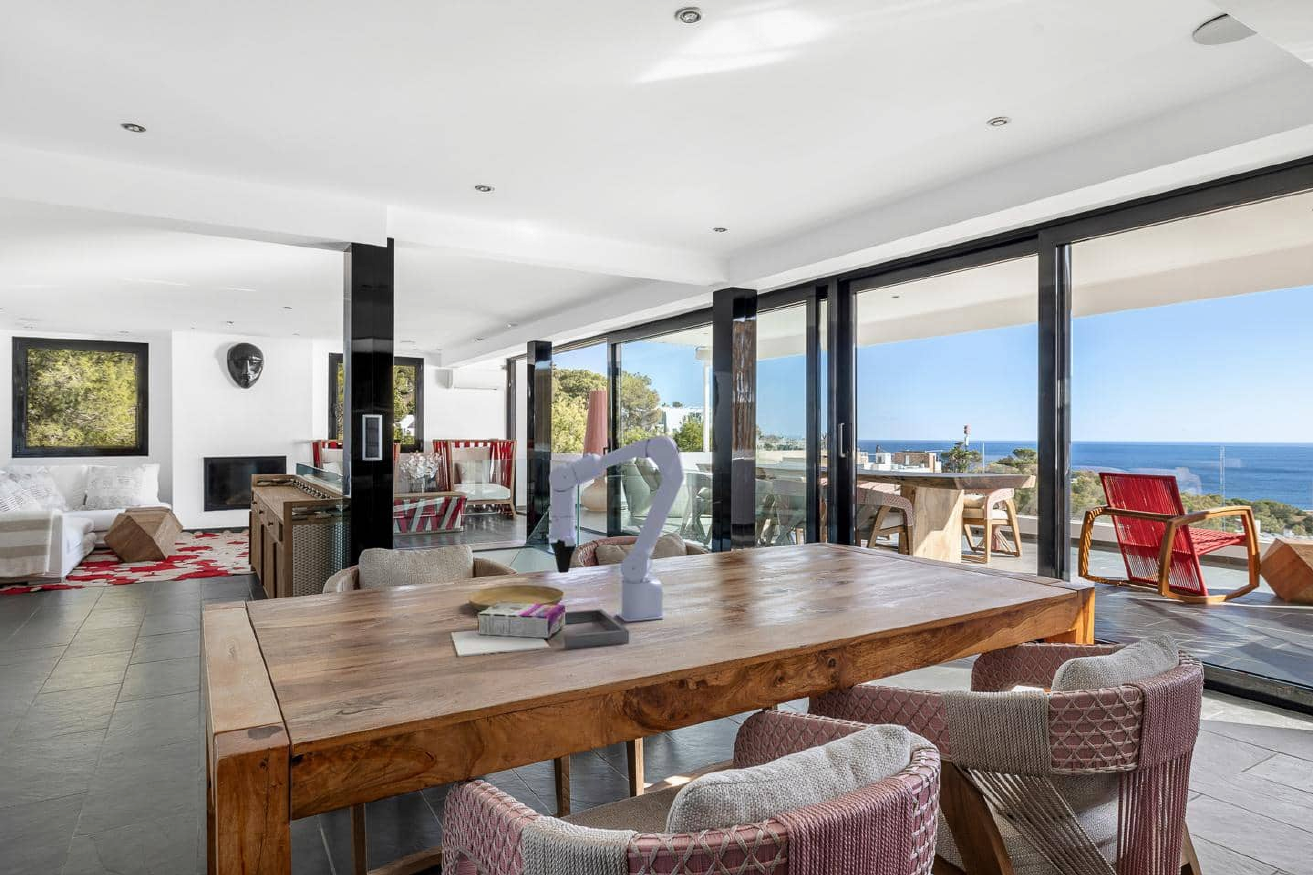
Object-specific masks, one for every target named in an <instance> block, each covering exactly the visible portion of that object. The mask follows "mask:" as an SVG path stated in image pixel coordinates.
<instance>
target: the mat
mask: <svg viewBox="0 0 1313 875" xmlns="http://www.w3.org/2000/svg"><path fill="white" fill-rule="evenodd" d="M450 635H451V639H452V641H454V642H453V644H454V648H455V651H456V654H457V657H458V658H459V657H460V658H462V657H472V656H484V655H483V654H485V655H491V654H490V653H495V654H499V653H498V652H506V653H515V652H524V651H525V652H526V651H535V650H536V649H537V650H545V649H550V645H549V644H548V643H547V642H546V640H545V638H531V637H514V636H494V635H478V629H476V630H465V631H455V632H450Z"/></svg>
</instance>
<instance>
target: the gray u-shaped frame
mask: <svg viewBox="0 0 1313 875" xmlns="http://www.w3.org/2000/svg"><path fill="white" fill-rule="evenodd" d="M581 622H583V623H593V622H594V623H595V622H599V623H600V624H602V626H604V627H605V628H606V629H607V631H597V632H586V633H576V634H575V633H574V634H573V633H572V634H564V637H563V639H564V640H563V641H564V642H563V643H564V646H563V648H564V649H565V650H570V649H578V648H579V649H581V648H582V649H583V648H589V647H591V648H592V647H600V646H603V647H604V646H610V645H611V646H612V645H622V644H629V643H630V631H629V630H628V629H627V628H626V627H625V626H623V625H622V624H621V623H620V622H619V621H617V620H616V619H615V618H613V617H612V616H611V615H609V614H608V613H607V612H606V611H605V610H603V609H602V608H599V609H598V608H597V609H584V610H575V611H574V610H573V611H565V625H568V624H567V623H571V624H580V623H581Z"/></svg>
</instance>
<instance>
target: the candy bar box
mask: <svg viewBox="0 0 1313 875" xmlns="http://www.w3.org/2000/svg"><path fill="white" fill-rule="evenodd" d="M565 612H566V605H565V604H557V605H552V604H529V603H508V602H497V603H495V604H493V605H492V606H490V607H488V608H486V609H485V610H483V611H481V612H480V611H479V612H478V613H477V630H478V635H494V636H514V637H531V638H543V639H550V638H551V637H553V635H554V634H556V633H557V632H559V631H560V630H561V629H562V628H564V627H565V626H566V624H565Z"/></svg>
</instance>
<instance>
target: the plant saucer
mask: <svg viewBox="0 0 1313 875" xmlns="http://www.w3.org/2000/svg"><path fill="white" fill-rule="evenodd" d="M564 596H565V593H564V591H563V590H562V589H559V588H557V587H552V586H548V585H546V586H545V585H535V584H534V585H533V584H515V585H513V584H512V585H501V586H493V587H487V588H483V589H479V590H475V591H473V592H471V593H470V594H468V596H467V600H468V602H469V604H471V606H472V607H473V608H474V609H476V610H477V611H479V612H480V611H483V610H485V609H486V608H488V607H490V606H492V605H493V604H495V603H497V602H508V603H529V604H552V605H559V603H560V602H561V601H562V600H563V598H564Z"/></svg>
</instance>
